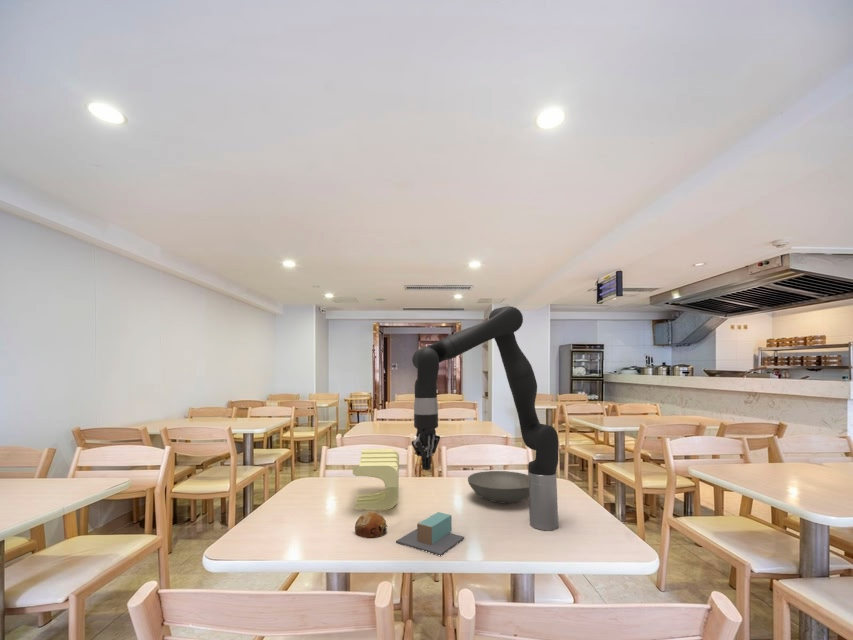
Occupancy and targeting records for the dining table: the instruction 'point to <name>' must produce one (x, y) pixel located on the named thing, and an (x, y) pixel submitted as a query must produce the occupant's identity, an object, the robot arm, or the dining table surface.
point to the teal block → (434, 528)
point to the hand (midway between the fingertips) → (426, 469)
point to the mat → (435, 548)
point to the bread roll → (370, 525)
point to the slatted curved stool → (381, 467)
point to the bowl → (500, 486)
